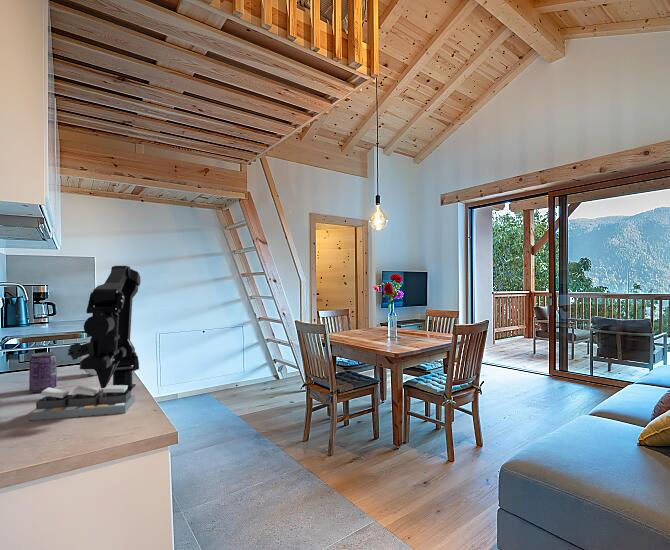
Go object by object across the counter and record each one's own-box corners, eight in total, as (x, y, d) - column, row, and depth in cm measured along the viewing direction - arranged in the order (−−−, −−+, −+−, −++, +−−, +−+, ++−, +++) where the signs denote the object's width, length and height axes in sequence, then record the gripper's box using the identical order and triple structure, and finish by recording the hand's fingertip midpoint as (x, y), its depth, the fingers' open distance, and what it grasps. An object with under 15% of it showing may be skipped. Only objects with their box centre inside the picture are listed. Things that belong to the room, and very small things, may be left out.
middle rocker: (78, 389, 107) (78, 385, 107) (98, 391, 108) (99, 388, 109) (72, 393, 104) (73, 389, 104) (93, 395, 105) (94, 392, 105)
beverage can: (52, 385, 130) (53, 350, 130) (59, 389, 126) (59, 353, 126) (26, 390, 125) (26, 354, 125) (32, 394, 120) (32, 356, 120)
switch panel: (47, 407, 108) (47, 392, 108) (134, 401, 114) (135, 386, 114) (28, 420, 98) (28, 403, 98) (125, 413, 104) (125, 396, 104)
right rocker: (107, 388, 109) (107, 385, 109) (127, 388, 110) (127, 385, 110) (103, 392, 106) (103, 388, 106) (123, 392, 107) (124, 388, 107)
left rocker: (47, 390, 105) (48, 387, 105) (68, 394, 107) (69, 390, 107) (40, 394, 102) (42, 391, 102) (62, 398, 103) (63, 394, 103)
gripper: (87, 328, 115) (84, 380, 114) (58, 337, 97) (55, 398, 96) (128, 328, 117) (125, 379, 117) (107, 337, 99) (104, 397, 99)
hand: (103, 387), depth 107 cm, fingers closed, pressing on right rocker
